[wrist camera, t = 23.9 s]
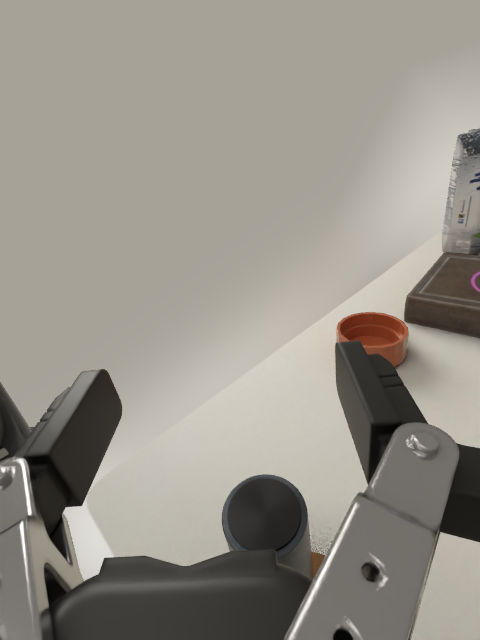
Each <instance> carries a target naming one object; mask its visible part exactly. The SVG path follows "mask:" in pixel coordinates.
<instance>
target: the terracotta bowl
mask: <svg viewBox="0 0 480 640" xmlns="http://www.w3.org/2000/svg"><path fill="white" fill-rule="evenodd" d="M355 340H360V341H361V343H362V345H363V347H364V349H365V351H366V353H367V355H368V354H377V353H379V354H380V355H381V356H383V357H384V358H386V359H387V360H388V361H390V362H391V363H392V365H393V367H395V366H396V365H398V364H400V363H401V362H402V361H403V360H404V358H405V357H406V350H407V342H408V327H407V326H406V325H405V323H404V322H403V321H401V320H399V319H398V318H396V317H394V316H390V315H387V314H383V313H375V312H365V313H358V314H353V315H350V316H348V317H346V318H343V319H342V320H341V321H340V322H339V323H338V326H337V342H346V341H355Z"/></svg>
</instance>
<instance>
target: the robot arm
mask: <svg viewBox="0 0 480 640" xmlns="http://www.w3.org/2000/svg"><path fill="white" fill-rule="evenodd" d="M335 354H336V385H337V391H338V395H339V399H340V402H341V405H342V408H343V411H344V414H345V417H346V420H347V423H348V426H349V429H350V432H351V435H352V438H353V441H354V444H355V447H356V450H357V453H358V456H359V459H360V462H361V465H362V468H363V471H364V474H365V477H366V480H367V483H368V487H367V489H366V491H365V492H364V493H361V492H360V493H358V494H357V496H356V497H355V498H354V500H353V502H352V504H351V506H350V508H349V510H348V512H347V514H346V516H345V518H344V520H343V522H342V524H341V526H340V528H339V530H338V532H337V534H336V536H335V538H334V540H333V542H332V544H331V546H330V548H329V550H328V552H327V554H326V556H325V558H324V560H323V562H322V564H321V566H320V568H319V570H318V572H317V574H316V576H315V578H314V580H313V579H311V578H310V577H308V576H307V575H305V574H303V573H302V572H300V571H298V570H296V569H294V568H291V567H289V566H286V565H283V564H279V563H278V561H277V556H276V550H275V549H265V550H246V551H231V552H228V553H225V554H222V555H219V556H217V557H214V558H211V559H208V560H205V561H202V562H199V563H196V564H193V565H191V566H179V565H176V564H172V563H169V562H165V561H161V560H158V559H154V558H151V557H147V556H133V557H114V558H104V561H103V564H102V567H101V569H100V573H99V574H98V575H96V576H94V577H92V578H90V579H88V580H85V581H84V580H83V578H82V576H81V573H80V570H79V566H78V562H77V558H76V554H75V549H74V545H73V541H72V537H71V533H70V529H69V525H68V521H67V518H66V517H65V515H64V514H63V511H64V509H65V507H72V506H82V504H83V502H84V500H85V498H86V495H87V493H88V491H89V488H90V486H91V484H92V482H93V480H94V477H95V475H96V473H97V471H98V469H99V466H100V464H101V462H102V459H103V457H104V455H105V453H106V451H107V448H108V446H109V444H110V442H111V439H112V437H113V435H114V433H115V430H116V428H117V426H118V424H119V421H120V419H121V416H122V404H121V400H120V398H119V396H118V394H117V391H116V389H115V387H114V384H113V382H112V380H111V378H110V375H109V373H108V372H107V371H106V370H104V369H101V370H92V371H84V372H81V373H80V375H79V376H78V377H77V379H76V380H75V382H74V383H73V384H72V386H71V387H68V388H67V389H66V390H65V391H64V392H62V393H61V394H60V395H59V396H58V397H56V398H55V400H54V401H53V402H52V404H51V405H50V407H49V408H48V409H47V412H46V413H45V414H44V415H43V416H42V418H41V419H40V422H38V423H37V425H36V426H35V427H34V429H33V430H31V429H30V427H29V426H28V424H27V423H26V421H25V419H24V418H23V416H22V415H21V413H20V412H19V410H18V408H17V407H16V405H15V404H14V402H13V401H12V399H11V398H10V396H9V395H8V393H7V392H6V390H5V388H4V387H3V386H2V384H1V382H0V640H411V637H412V634H413V630H414V626H415V623H416V619H417V615H418V611H419V608H420V604H421V600H422V596H423V593H424V589H425V586H426V582H427V578H428V575H429V571H430V567H431V564H432V560H433V557H434V553H435V549H436V546H437V542H438V539H439V535H440V532H443V533H446V534H450V535H454V536H458V537H462V538H465V539H469V540H473V541H477V542H480V448H475V447H469V446H464V445H460V444H457V443H455V441H454V440H453V439H452V438H451V437H450V436H449V435H448V434H447V433H446V432H444V431H443V430H441V429H439V428H437V427H435V426H432V425H429V424H428V423H427V421H426V420H425V418H424V416H423V415H422V413H421V411H420V410H419V408H418V406H417V405H416V403H415V401H414V400H413V398H412V396H411V395H410V393H409V391H408V390H407V388H406V386H404V383H403V382H402V380H401V378H400V377H399V376H398V373H397V372H396V370H395V368H394V367H393V365H392V363H391V362H390V361H388V360H387V359H386V358H384V357H383V356H381V355H380V354H379V353H377V354H368V355H367V353H366V351H365V349H364V347H363V345H362V343H361V341H360V340H355V341H346V342H337V343H336V346H335Z"/></svg>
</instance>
